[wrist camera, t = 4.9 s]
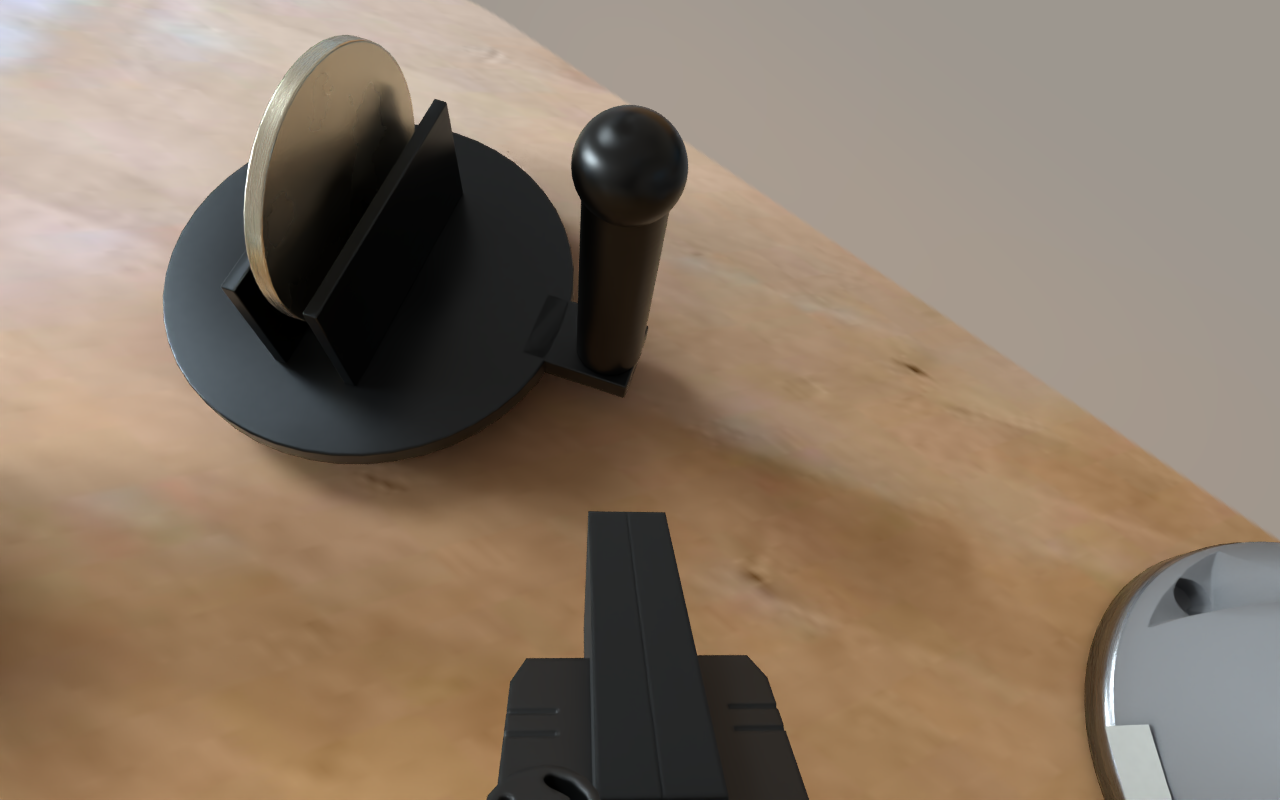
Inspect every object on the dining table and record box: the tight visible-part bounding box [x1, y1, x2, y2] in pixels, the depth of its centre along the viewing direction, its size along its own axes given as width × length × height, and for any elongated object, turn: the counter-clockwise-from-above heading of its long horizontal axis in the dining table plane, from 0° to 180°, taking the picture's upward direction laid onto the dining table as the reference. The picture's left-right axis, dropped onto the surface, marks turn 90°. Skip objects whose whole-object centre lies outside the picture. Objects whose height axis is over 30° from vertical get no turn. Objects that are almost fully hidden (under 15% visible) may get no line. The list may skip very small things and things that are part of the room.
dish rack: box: [163, 35, 688, 464], centre depth 25 cm, size 20×16×13 cm
